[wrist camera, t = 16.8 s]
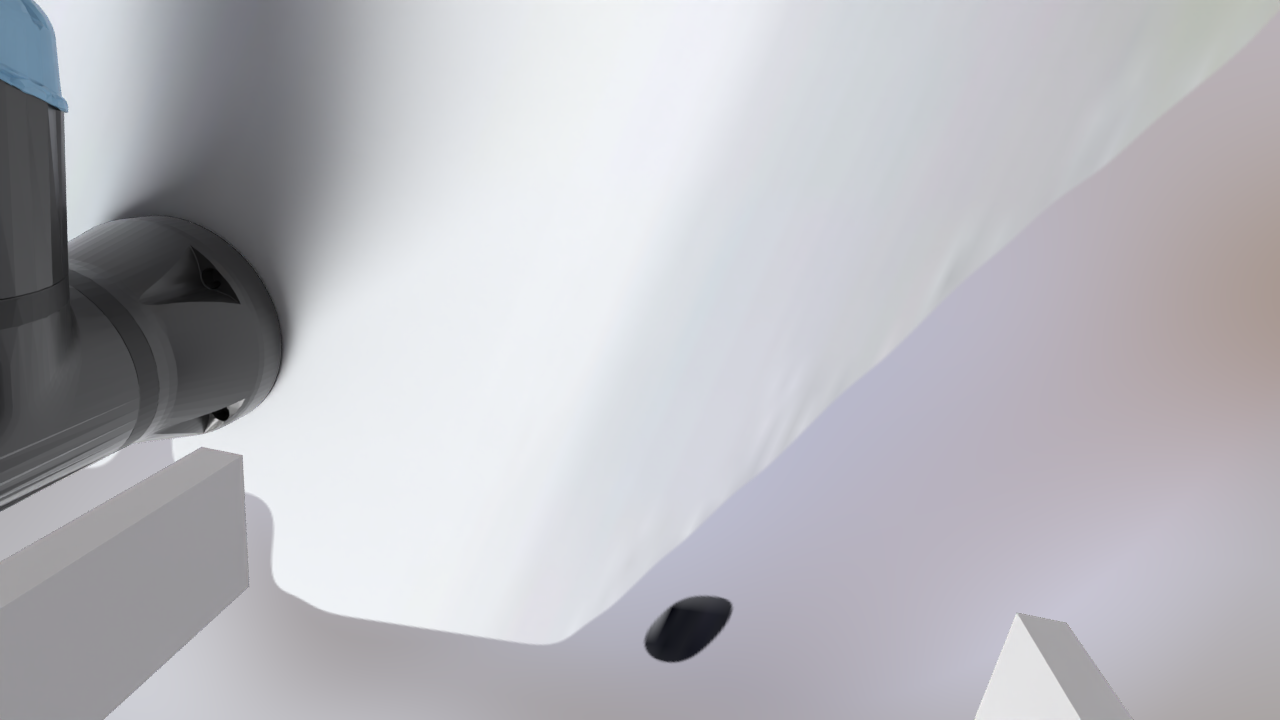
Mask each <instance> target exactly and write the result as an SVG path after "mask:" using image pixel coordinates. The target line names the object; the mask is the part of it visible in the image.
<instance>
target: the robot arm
mask: <svg viewBox="0 0 1280 720" xmlns="http://www.w3.org/2000/svg"><path fill="white" fill-rule="evenodd" d="M64 112H65V113H68V105H67V102H66V101H65V99H64V98H63V97H62V94H61V87H60V78H59V68H58V58H57V48H56V38H55V33H54V29H53V27H52V24H51V23H50V21H49V19H48V17H47V15H46V14H45V13H44V11H43V10H42V9H41V8H40V7H39V5H38V4H36V3H35V2H34V1H33V0H0V512H1V511H3V510H5V509H7V508H9V507H11V506H13V505H15V504H16V503H18V502H20V501H22V500H24V499H26V498H28V497H30V496H32V495H34V494H36V493H38V492H40V491H42V490H43V489H45V488H47V487H49V486H51V485H53V484H55V483H57V482H59V481H61V480H63V479H65V478H67V477H69V476H70V475H72V474H74V473H76V472H78V471H80V470H82V469H84V468H86V467H88V466H90V465H92V464H94V463H96V462H98V461H99V460H101V459H103V458H105V457H107V456H109V455H111V454H112V453H114V452H117V451H119V450H121V449H123V448H125V447H127V446H129V445H131V444H136V443H143V442H151V441H158V440H165V439H172V438H179V437H186V436H194V435H200V434H205V433H208V432H211V431H215V430H217V429H220V428H222V427H224V426H226V425H228V424H230V423H232V422H233V421H235V420H237V419H239V418H241V417H243V416H244V415H246V414H248V413H249V412H251V411H252V410H254V409H255V408H256V407H257V406H258V405H259V404H260V403H261V402H262V401H263V400H264V399H265V398H266V396H267V395H268V393H269V392H270V390H271V388H272V386H273V384H274V382H275V380H276V377H277V374H278V371H279V367H280V361H281V333H280V327H279V322H278V318H277V315H276V311H275V308H274V306H273V303H272V301H271V298H270V296H269V294H268V292H267V290H266V288H265V286H264V285H263V283H262V281H261V280H260V278H259V277H258V275H257V274H256V272H255V271H254V270H253V268H252V267H251V266H250V265H249V263H248V262H247V261H246V260H245V259H244V258H243V257H242V256H241V255H240V254H239V253H238V252H237V251H236V250H235V249H234V248H233V247H232V246H231V245H229V244H228V243H227V242H226V241H224V240H223V239H221V238H220V237H219V236H217V235H216V234H214V233H212V232H211V231H209V230H207V229H205V228H203V227H201V226H199V225H197V224H194V223H192V222H189V221H186V220H182V219H179V218H174V217H168V216H143V217H135V218H127V219H119V220H114V221H110V222H107V223H104V224H101V225H98V226H96V227H93V228H91V229H90V230H88V231H86V232H84V233H83V234H81V235H79V236H78V237H76V238H74V239H72V240H70V241H69V242H68V239H67V206H66V171H65V135H64ZM244 495H245V494H244V475H243V456H242V455H239V454H234V453H229V452H224V451H219V450H214V449H209V448H204V447H201V448H199V449H197V450H195V451H194V452H192V453H190V454H188V455H187V456H185V457H183V458H181V459H180V460H178V461H176V462H174V463H173V464H171V465H169V466H167V467H166V468H164V469H162V470H160V471H159V472H157V473H155V474H153V475H152V476H150V477H148V478H146V479H144V480H143V481H141V482H139V483H137V484H136V485H134V486H132V487H131V488H129V489H127V490H125V491H124V492H122V493H120V494H118V495H116V496H115V497H113V498H111V499H109V500H108V501H106V502H104V503H103V504H101V505H99V506H97V507H95V508H94V509H92V510H90V511H88V512H87V513H85V514H83V515H81V516H80V517H78V518H76V519H74V520H73V521H71V522H69V523H67V524H66V525H64V526H62V527H60V528H58V529H57V530H55V531H53V532H51V533H50V534H48V535H46V536H44V537H43V538H41V539H39V540H37V541H36V542H34V543H32V544H31V545H29V546H27V547H25V548H24V549H22V550H20V551H18V552H16V553H15V554H13V555H11V556H10V557H8V558H6V559H4V560H2V561H1V562H0V720H104V719H105V718H106V717H107V716H108V715H109V714H110V713H111V712H112V711H113V710H114V709H116V708H117V707H118V706H119V705H120V704H121V703H122V702H123V701H124V700H125V699H127V698H128V697H129V696H130V695H131V694H132V693H133V692H134V691H135V690H136V689H138V688H139V687H140V686H141V685H142V684H143V683H144V682H145V681H146V680H147V679H149V678H150V677H151V676H152V675H153V674H154V673H155V672H156V671H157V670H158V669H159V668H161V667H162V666H163V665H164V664H165V663H166V662H167V661H168V660H169V659H170V658H172V656H174V655H175V654H176V653H177V652H178V651H179V650H180V649H181V648H182V647H184V645H186V644H187V643H188V642H189V641H190V640H191V639H192V638H193V637H194V636H196V635H197V634H198V633H199V632H200V631H201V630H202V629H203V628H204V627H205V626H207V625H208V624H209V623H210V622H211V621H212V620H213V619H214V618H215V617H216V616H218V615H219V614H220V613H221V612H222V611H223V610H224V609H225V608H226V607H227V606H228V605H230V604H231V603H232V602H233V601H234V600H235V599H236V598H237V597H238V596H239V595H241V594H242V593H243V592H244V591H245V590H246V589H247V588H248V587H249V570H248V554H247V553H248V552H247V532H246V513H245V496H244ZM974 720H1133V718H1132V717H1131V715H1130V714H1129V712H1128V711H1127V709H1126V708H1125V706H1124V705H1123V704H1122V702H1121V701H1120V699H1119V698H1118V696H1117V695H1116V693H1115V692H1114V691H1113V689H1112V688H1111V686H1110V685H1109V683H1108V682H1107V680H1106V679H1105V678H1104V676H1103V675H1102V673H1101V672H1100V670H1099V669H1098V667H1097V666H1096V665H1095V663H1094V662H1093V660H1092V659H1091V657H1090V656H1089V654H1088V653H1087V651H1086V650H1085V649H1084V647H1083V646H1082V644H1081V643H1080V641H1079V640H1078V638H1077V637H1076V636H1075V634H1074V633H1073V631H1072V630H1071V628H1070V627H1069V625H1068V624H1067V623H1065V622H1060V621H1055V620H1050V619H1045V618H1041V617H1036V616H1030V615H1026V614H1021V613H1016V616H1015V618H1014V621H1013V623H1012V626H1011V629H1010V631H1009V633H1008V636H1007V638H1006V641H1005V643H1004V647H1003V648H1002V651H1001V654H1000V656H999V658H998V661H997V664H996V666H995V669H994V671H993V674H992V676H991V679H990V681H989V684H988V686H987V689H986V691H985V694H984V697H983V699H982V701H981V704H980V707H979V709H978V711H977V714H976V717H975V719H974Z"/></svg>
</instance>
